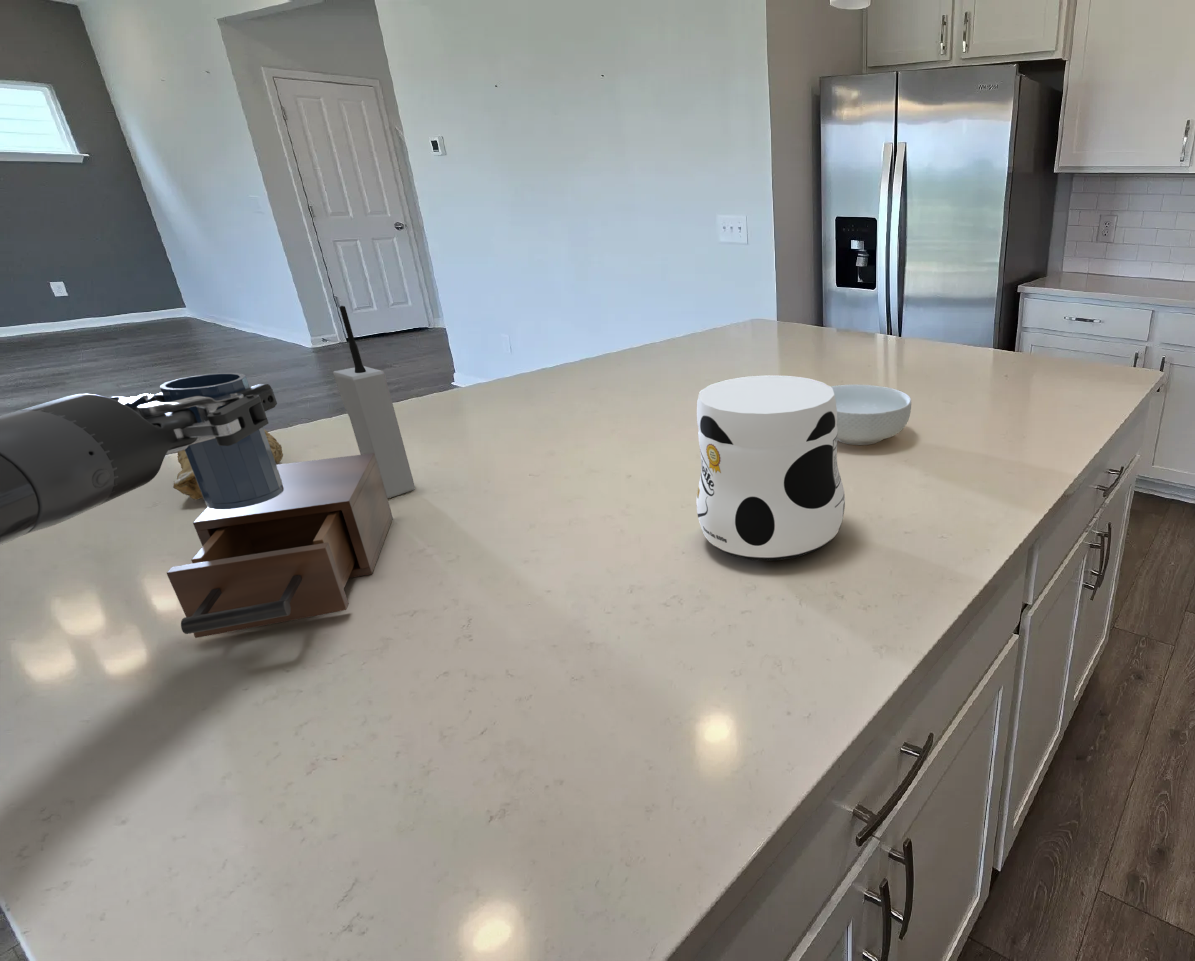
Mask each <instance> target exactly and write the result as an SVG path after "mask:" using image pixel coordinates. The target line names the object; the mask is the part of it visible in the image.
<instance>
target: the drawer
mask: <svg viewBox="0 0 1195 961" xmlns="http://www.w3.org/2000/svg"><path fill="white" fill-rule="evenodd" d="M356 559H357V557H356V554H355V551H354V547H353V544H352V541H351V538H350V535H349V532H348V529H347V525H346V522H345V519H344V516H343V513H342V510H339V511H331V512H324V513H317V514H310V515H303V516H296V517H289V518H282V519H275V520H268V521H261V522H254V523H247V524H240V525H233V526H226V527H219V528H218V529H217V530H216V531H215V533H214V534H213V535H212V536H211V537H210V538H209V540H208V541H207V542H206V543H205V544H204V545H203V546H201V548H200V549H199V550H198V551H197V552H196V554H195V555H194V556H193V557H192V558H191V560H190V561H191V563H187V564H181V565H175V566H174V565H173V566H171V567H170V568H169V570H167V572H166V575H167V578H168V580H169V582H170V584H171V586H172V589H173V591H174V593H175V595H176V597H177V600H178V602H179V604H180V607H181V609H182V611H183V613H184V616H185V617H183V618H182V619H181V621H180V629H181V631H182V633H184V634H185V635H191V634H193V636H194V638H195V639H198V638H199V639H200V638H204V637H209V636H214V635H215V636H216V635H220V634H226V633H230V632H235V631H240V630H241V631H242V630H245V629H252V628H257V627H263V626H268V625H272V624H273V625H274V624H279V623H285V622H289V621H295V620H300V619H305V618H311V617H315V616H316V617H317V616H322V615H326V614H332V613H338V612H343V611H346V610H348V606H349V604H350V603H349V601H348V597H347V594H346V591H345V587H346V585H347V582H348V580H349V579H350V578H349V576H350V573H351V571H352V569H353V566H354V564H355V562H356Z"/></svg>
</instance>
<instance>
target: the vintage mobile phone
mask: <svg viewBox="0 0 1195 961" xmlns="http://www.w3.org/2000/svg"><path fill="white" fill-rule="evenodd" d="M339 311H340V312H339V313H340V315H341V318H342V321H343V325H344V329H345V332H346V336H347V339H348V345H349V346H348V347H349V351H350V354H351V357H352V361H353V365H354V366H353V367H349V368H343V369H339V370H334V371H332V375H333V378H334V381H335V385H336V387H337V390H338V392H339V396H340V398H341V401H342V404H343V408H344V410H345V411H346V413H347V416H348V418H349V420H350V424H351V427H352V430H353V434H354V437H355V438H354V439H355V441H356V444H357V448H358V451H359V455H363V454H371V453H375V457H376V460H377V464H378V467H379V471H380V474H381V478H382V481H383V484H384V488H385V491H386V495H387V498H388V499H391V498H394V497H397V496H400V495H403V494H406V493H409V492H412V491H414V490H415V489H416V485H415V482H414V478H413V474H412V471H411V467H410V463H409V460H408V455H407V451H406V448H405V445H404V441H403V437H402V433H401V429H400V426H399V422H398V418H397V415H396V411H395V407H394V404H393V399H392V396H391V392H390V388H389V385H388V381H387V378H386V377H387V376H386V373H385V372H384V371H383V370H380V369H377V368H373V367H369V366H365V365H364V364H363V360H362V358H361V354H360V350H359V347H358V344H357V343H356V340H355V336H354V333H353V330H352V326H351V322H350V319H349V315H348V312H347V308H346V306H345V305H340V306H339Z"/></svg>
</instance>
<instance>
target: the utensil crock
mask: <svg viewBox="0 0 1195 961" xmlns="http://www.w3.org/2000/svg"><path fill="white" fill-rule="evenodd" d="M249 387H250V384H249V381H248V377H247V375H245V373H238V372H215V373H205V374H197V375H191V376H185V377H180V378H176V379H172V380H169V381H166V382H163V383H162V384H160V385H159V389H160V393H162V394H163V397H164V399H165V402H166V403H167V402H171V401H176V400H180V399H185V398H189V397H194V396H205V397H210V398H217V397H221V396H226V395H230V394H231V393H236V392H239V391H241V390H244V389H247V388H249ZM227 405H228V404H227ZM227 405H223V406H219V407H218V409H217V410H219V409H221V408H223V407H225V406H227ZM188 409H190V410H192V411H193V413H194V414H195V417H196V420H197V422H198V423H200V422H202V420H201V417H200V415H199V412H198V410H197V407H196V406H194V407H190V408H188ZM264 429H265V428H264V427H262V428H260V429H259V430H257V431H255V432H254V433H252V434H250V435H249V436H247V437H245V438H244V439H242V440H240V441H238V442H237V443H235V444H232V445H230V446H219V445H218V443H217V441H216V438H214V439H211V440H207V441H203V442H200V443H196V444H193V445H189V446H188V447H187V448H186V449H185V452H186V455H187V458H188V460H189V463H190V465H191V468H192V470H193V473H194V475H195V478H196V480H197V483H198V486H199V488H200V491H201V493H202V496H203V498H204V499H203V500H204V504H205V506H206V508H207V507H209V508H212V509H234V508H241V507H247V506H251V505H255V504H259V503H262V502H265V501H268V500H270V499H272V498H275V497H276V496H278V495H280V494H281V493H282V492H283V490H284V488H283V485H282V480H281V477H280V475H279V472H278V469H277V466H276V463H275V460H274V457H273V454H272V451H271V448H270V445H269V442H268V439H267V437H266V434H265V431H264Z"/></svg>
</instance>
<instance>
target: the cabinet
mask: <svg viewBox="0 0 1195 961" xmlns="http://www.w3.org/2000/svg"><path fill="white" fill-rule="evenodd" d="M276 466H277V469H278V472H279V475H280V477H281V480H282V485H283V488H284V490H283V492H282V493H281V494H280V495H278V496H276V497H275V498H272V499H270V500H268V501H265V502H262V503H259V504H255V505H251V506H247V507H241V508H234V509H212V508H209V507H207V506H206V508H205V509H204V510H203V511H202V513H200V514H199V516H198V517H196V518H195V519H194V521H193V522H192V524H193V527H194V529H195V532H196V534H197V537H198V539H199V541H200V542H199V543H200V544H201V547H203V545H204V544H205V543H206V542H207V541H208V540H209V538H210V537H211V536H212V535H213V534H214V533H215V531H216V530H217V529H218V528H219V527H226V526H233V525H240V524H247V523H254V522H261V521H268V520H275V519H282V518H289V517H296V516H303V515H310V514H317V513H324V512H331V511H339V510H342V513H343V516H344V519H345V522H346V525H347V529H348V532H349V535H350V538H351V541H352V544H353V547H354V551H355V554H356V557H357V559H356V562H355V564H354V566H353V569H352V571H351V573H350V576H349V578H348V579H352V578H358V577H363V576H370V575H372V574H373V572H374V570H375V567H376V565H377V562H378V559H379V556H380V554H381V551H382V549H383V545H384V543H385V540H386V538H387V535H388V532H389V530H390V526H391V525H392V521H393V518H394V515H393V513H392V510H391V506H390V502H389V498H387V495H386V491H385V488H384V484H383V481H382V478H381V474H380V471H379V467H378V464H377V460H376V457H375V453H371V454H363V455H361V454H355V455H347V456H339V457H330V458H321V459H313V460H303V461H295V462H287V463H278V464H277V465H276Z"/></svg>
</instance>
